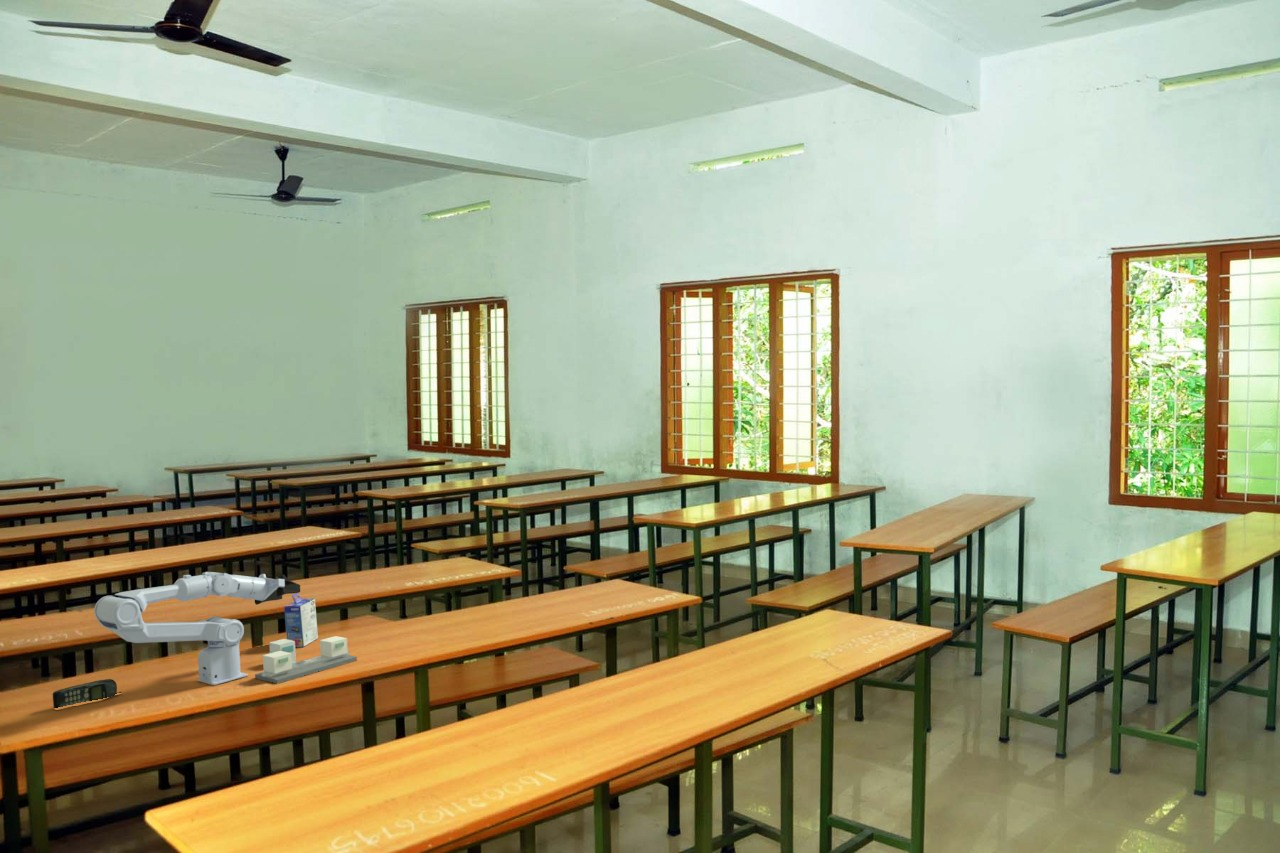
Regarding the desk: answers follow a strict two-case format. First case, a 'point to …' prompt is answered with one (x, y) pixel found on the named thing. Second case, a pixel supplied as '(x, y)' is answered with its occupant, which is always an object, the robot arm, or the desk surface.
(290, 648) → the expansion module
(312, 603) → the ink cartridge box
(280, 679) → the din board
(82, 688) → the mobile phone
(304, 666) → the din rail
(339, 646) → the mounted modules
